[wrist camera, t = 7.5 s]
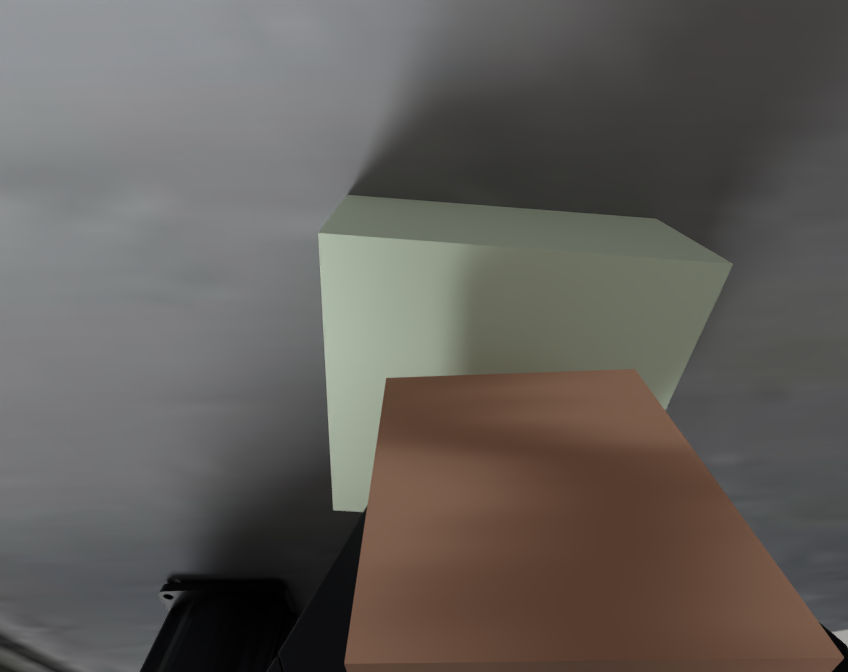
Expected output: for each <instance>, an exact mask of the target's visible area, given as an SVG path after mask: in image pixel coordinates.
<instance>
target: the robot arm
mask: <svg viewBox="0 0 848 672" xmlns="http://www.w3.org/2000/svg"><path fill="white" fill-rule="evenodd" d="M366 512H367V506H366V508H365V510H364V511H363V513H362V515H361V516H360V518H359V520H358V521H357V523H356V525H355V526H354V528H353V530H352V531H351V533H350V535H349V536H348V538H347V540H346V541H345V543H344V544H343V546H342V548H341V549H340V551H339V553H338V554H337V556H336V558H335V559H334V561H333V563H332V564H331V566H330V568H329V569H328V571H327V573H326V574H325V576H324V578H323V579H322V581H321V583H320V584H319V586H318V588H317V589H316V591H315V593H314V594H313V596H312V598H311V599H310V601H309V602H308V604H307V606H306V607H305V609H304V611H303V612H302V614H301V616H300V617H299V616H298V614H297V613H296V611H295V608H294V605H293V603H292V600H291V597H290V595H289V592H288V589H287V587H286V585H285V584H283V583H281V582H220V583H168V584H165V585H163V587H162V589H161V591H160V592H159V594H158V596H159V598H160V599H161V601H162V602H163V604H164V605H165V607H166V609H167V610H168V612H169V613H168V615H167V617H166V619H165V621H164V623H163V625H162V627H161V629H160V631H159V634H158V636H157V638H156V640H155V642H154V644H153V646H152V648H151V650H150V652H149V654H148V656H147V658H146V660H145V662H144V664H143V666H142V668H141V670H140V672H347V671H346V668H345V665H344V662H345V655H346V648H347V641H348V635H349V628H350V621H351V614H352V607H353V600H354V594H355V587H356V580H357V573H358V566H359V560H360V553H361V546H362V539H363V532H364V526H365V519H366ZM820 625H821V626H822V628H823V629H824V630H825V632H826V633H827V634H828V636H829V637H830V639H831V640H832V641H833V643H834V644H835V645H836V647H837V648H838V650H839V651H840V652H841V654H842V655H843V656H844V659H843V660H842V661H841V662H840V663H839V664H838V665H837V666H836V667H835V669H834V670H833V671H832V672H848V647H847V646H846V644H844V643H843V642H842V641H841V640H840V639H838V638H837V637H836V636H835V635H834V634H833V633H831V632H830V631H829V630H828V629H827V628H825V627H824V626H823V625H822V624H821V623H820Z"/></svg>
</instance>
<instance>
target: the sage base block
mask: <svg viewBox="0 0 848 672" xmlns="http://www.w3.org/2000/svg"><path fill="white" fill-rule="evenodd" d="M318 237H319V256H320V274H321V293H322V312H323V331H324V349H325V368H326V387H327V405H328V424H329V443H330V462H331V480H332V499H333V510H336V511H353V512H363V511H364V510H365V508H366V506H367V505H368V498H369V492H370V485H371V478H372V471H373V464H374V458H375V451H376V444H377V437H378V430H379V424H380V417H381V410H382V403H383V396H384V390H385V383H386V378H397V377H425V376H453V375H481V374H509V373H538V372H566V371H594V370H622V369H635V370H636V371H637V372H638V374H639V375H640V377H641V378H642V379H643V381H644V382H645V383H646V385H647V386H648V388H649V389H650V390H651V392H652V393H653V395H654V396H655V397H656V399H657V400H658V401H659V403H660V404H661V406H662V407H663V408H664V410H666V408H667V406H668V404H669V402H670V399H671V397H672V395H673V393H674V391H675V389H676V387H677V384H678V382H679V380H680V378H681V376H682V374H683V371H684V369H685V367H686V365H687V363H688V361H689V359H690V356H691V354H692V352H693V350H694V348H695V346H696V343H697V341H698V339H699V337H700V335H701V333H702V331H703V328H704V326H705V324H706V322H707V320H708V318H709V315H710V313H711V311H712V309H713V307H714V305H715V302H716V300H717V298H718V296H719V294H720V292H721V290H722V287H723V285H724V283H725V281H726V279H727V277H728V274H729V272H730V270H731V268H732V266H733V264H732V263H731V262H729V261H727V260H726V259H724V258H722V257H721V256H719V255H717V254H715V253H714V252H712V251H710V250H709V249H707V248H705V247H704V246H702V245H700V244H698V243H697V242H695V241H693V240H692V239H690V238H688V237H687V236H685V235H683V234H681V233H680V232H678V231H676V230H675V229H673V228H671V227H670V226H668V225H666V224H664V223H663V222H661V221H659V220H658V219H655V218H642V217H629V216H616V215H603V214H590V213H577V212H564V211H551V210H538V209H525V208H512V207H499V206H486V205H473V204H460V203H447V202H434V201H421V200H408V199H395V198H382V197H369V196H356V195H347V196H346V197H345V198H344V200H343V201H342V202H341V204H340V205H339V206H338V208H337V209H336V210H335V212H334V213H333V214H332V216H331V217H330V218H329V220H328V221H327V222H326V223H325V225H324V226H323V227H322V229H321V230H320V231H319V233H318Z"/></svg>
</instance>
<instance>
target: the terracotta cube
mask: <svg viewBox="0 0 848 672" xmlns="http://www.w3.org/2000/svg"><path fill="white" fill-rule="evenodd" d="M843 659H844V656H843V655H842V654H841V652H840V651H839V650H838V648H837V647H836V645H835V644H834V643H833V641H832V640H831V639H830V637H829V636H828V634H827V633H826V632H825V630H824V629H823V628H822V626H821V625H820V623H819V622H818V621H817V619H816V618H815V616H814V615H813V614H812V612H811V611H810V610H809V608H808V607H807V605H806V604H805V603H804V601H803V600H802V599H801V597H800V596H799V594H798V593H797V592H796V590H795V589H794V588H793V586H792V585H791V583H790V582H789V581H788V579H787V578H786V577H785V575H784V574H783V572H782V571H781V570H780V568H779V567H778V565H777V564H776V563H775V561H774V560H773V559H772V557H771V556H770V554H769V553H768V552H767V550H766V549H765V548H764V546H763V545H762V543H761V542H760V541H759V539H758V538H757V537H756V535H755V534H754V532H753V531H752V530H751V528H750V527H749V526H748V524H747V523H746V521H745V520H744V519H743V517H742V516H741V514H740V513H739V512H738V510H737V509H736V508H735V506H734V505H733V503H732V502H731V501H730V499H729V498H728V497H727V495H726V494H725V492H724V491H723V490H722V488H721V487H720V486H719V484H718V483H717V481H716V480H715V479H714V477H713V476H712V474H711V473H710V472H709V470H708V469H707V468H706V466H705V465H704V463H703V462H702V461H701V459H700V458H699V457H698V455H697V454H696V452H695V451H694V450H693V448H692V447H691V446H690V444H689V443H688V441H687V440H686V439H685V437H684V436H683V435H682V433H681V432H680V430H679V429H678V428H677V426H676V425H675V423H674V422H673V421H672V419H671V418H670V417H669V415H668V414H667V412H666V411H665V410H664V408H663V407H662V406H661V404H660V403H659V401H658V400H657V399H656V397H655V396H654V395H653V393H652V392H651V390H650V389H649V388H648V386H647V385H646V383H645V382H644V381H643V379H642V378H641V377H640V375H639V374H638V372H637V371H636V370H635V369H622V370H594V371H566V372H538V373H509V374H481V375H453V376H425V377H397V378H386V383H385V390H384V396H383V403H382V410H381V417H380V424H379V430H378V437H377V444H376V451H375V458H374V464H373V471H372V478H371V485H370V492H369V498H368V505H367V512H366V519H365V526H364V532H363V539H362V546H361V553H360V560H359V566H358V573H357V580H356V587H355V594H354V600H353V607H352V614H351V621H350V628H349V635H348V641H347V648H346V655H345V662H344V665H345V668H346V671H347V672H832V671H833V670H834V669H835V667H836V666H837V665H838V664H839V663H840V662H841V661H842V660H843Z"/></svg>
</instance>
